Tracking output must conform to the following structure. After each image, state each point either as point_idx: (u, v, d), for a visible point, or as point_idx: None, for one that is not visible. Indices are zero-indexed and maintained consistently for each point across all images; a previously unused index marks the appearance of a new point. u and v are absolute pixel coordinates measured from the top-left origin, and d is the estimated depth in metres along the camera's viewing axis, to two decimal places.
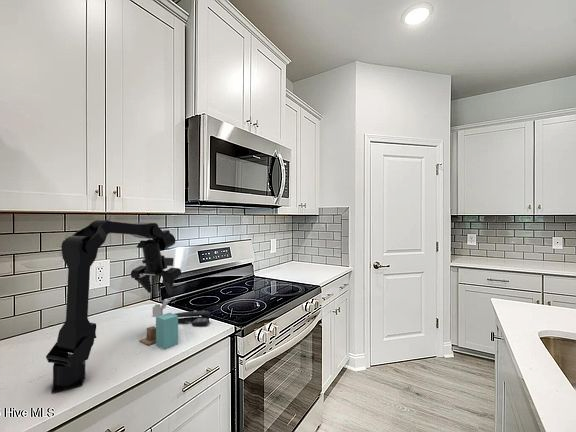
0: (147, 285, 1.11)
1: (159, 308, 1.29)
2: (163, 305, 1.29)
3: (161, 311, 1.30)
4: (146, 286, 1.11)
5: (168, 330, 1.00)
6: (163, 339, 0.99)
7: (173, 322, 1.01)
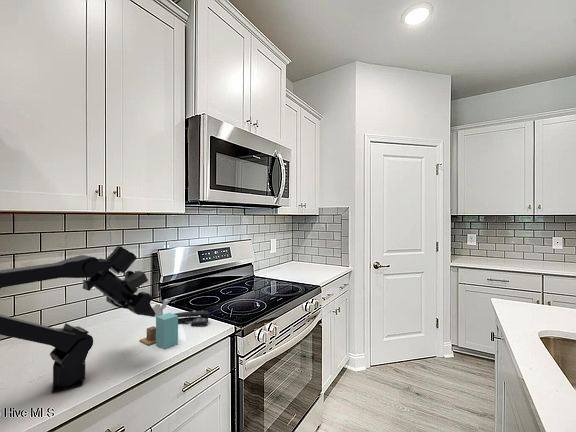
0: None
1: (159, 308, 1.29)
2: (163, 305, 1.29)
3: (161, 311, 1.30)
4: None
5: (168, 330, 1.00)
6: (163, 339, 0.99)
7: (173, 322, 1.01)
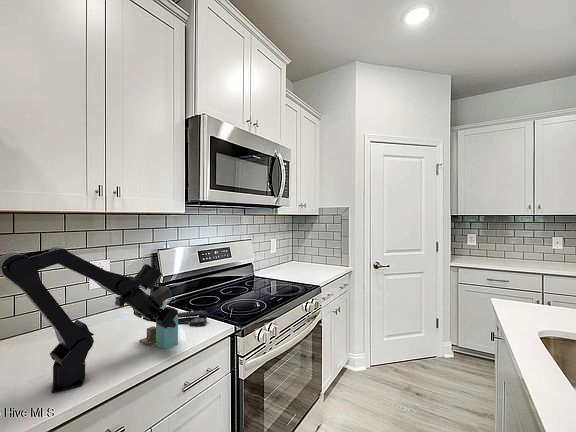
0: None
1: None
2: (163, 305, 1.29)
3: None
4: None
5: (168, 330, 1.00)
6: (163, 339, 0.99)
7: None
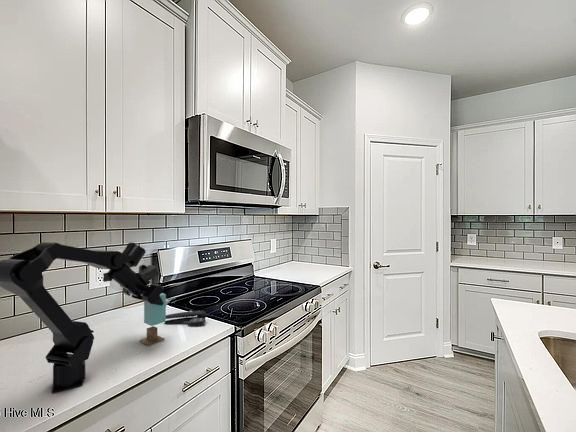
0: None
1: None
2: None
3: None
4: None
5: (156, 307, 1.02)
6: (150, 316, 1.01)
7: None
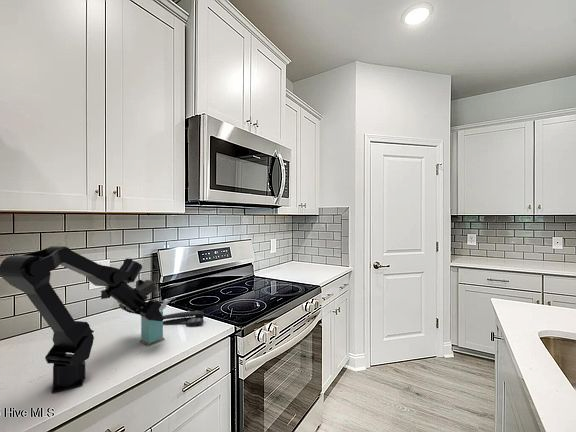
0: None
1: (159, 308, 1.29)
2: (163, 305, 1.29)
3: None
4: None
5: (153, 325, 1.03)
6: (147, 333, 1.02)
7: None
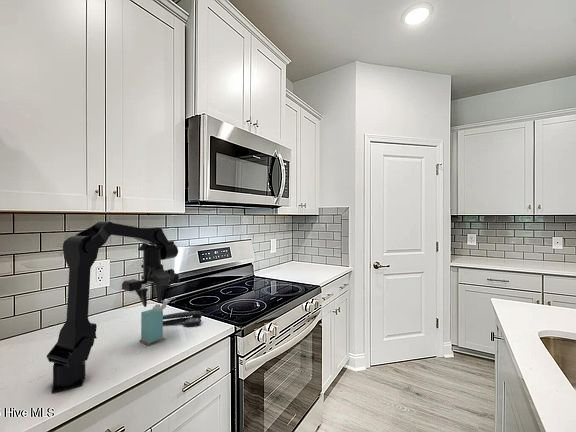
0: (158, 294, 1.08)
1: (159, 308, 1.29)
2: (163, 305, 1.29)
3: None
4: (157, 294, 1.08)
5: (153, 325, 1.03)
6: (147, 333, 1.02)
7: (158, 317, 1.04)
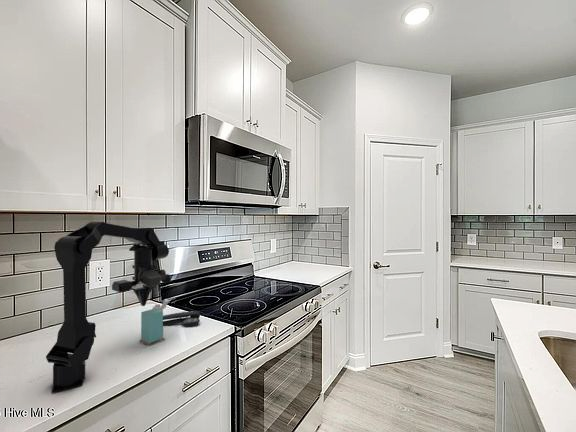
0: None
1: (159, 308, 1.29)
2: (163, 305, 1.29)
3: None
4: None
5: (153, 325, 1.03)
6: (147, 333, 1.02)
7: (158, 317, 1.04)
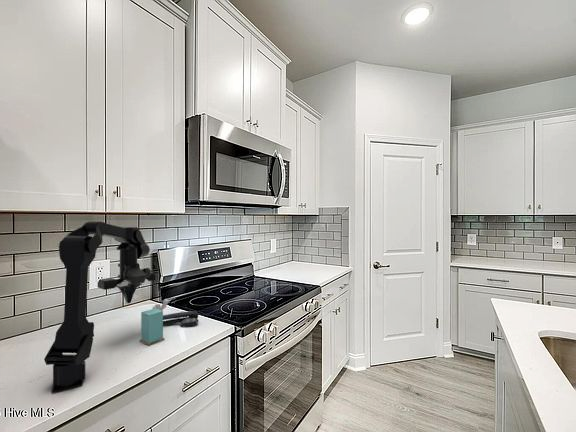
0: None
1: (159, 308, 1.29)
2: (163, 305, 1.29)
3: None
4: None
5: (153, 325, 1.03)
6: (147, 333, 1.02)
7: (158, 317, 1.04)
